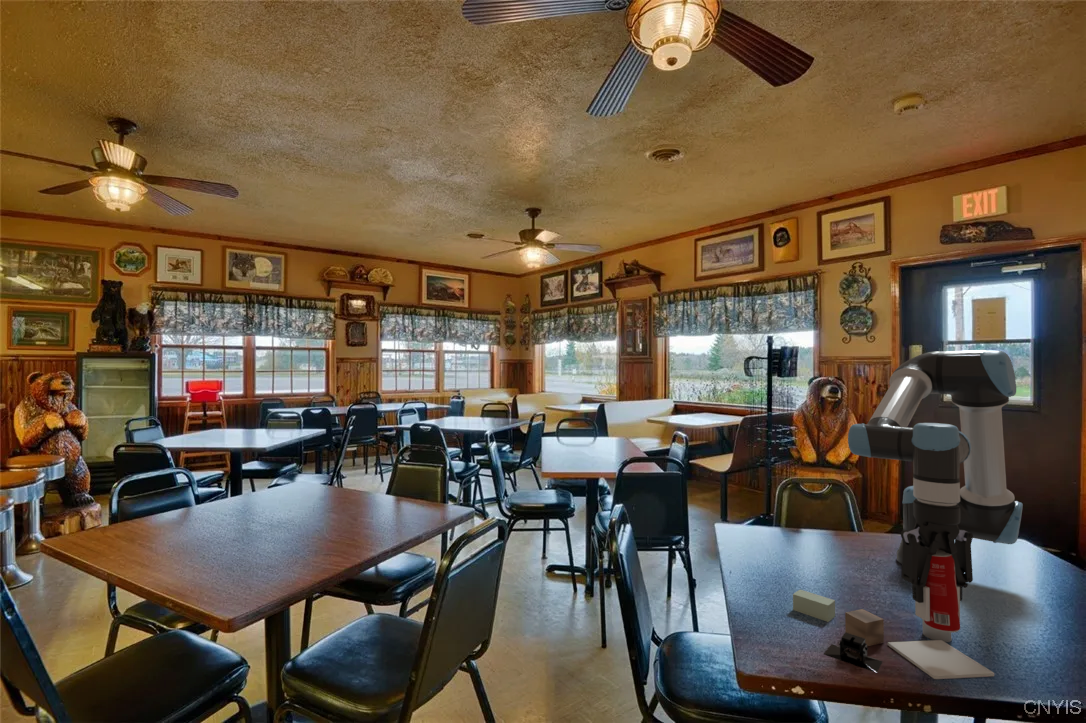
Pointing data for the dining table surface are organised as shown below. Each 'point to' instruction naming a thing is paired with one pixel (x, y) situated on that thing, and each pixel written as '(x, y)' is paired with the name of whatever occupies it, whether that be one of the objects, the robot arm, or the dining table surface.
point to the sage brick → (814, 605)
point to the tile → (940, 659)
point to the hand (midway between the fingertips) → (937, 617)
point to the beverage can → (943, 594)
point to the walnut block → (865, 626)
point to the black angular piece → (851, 656)
